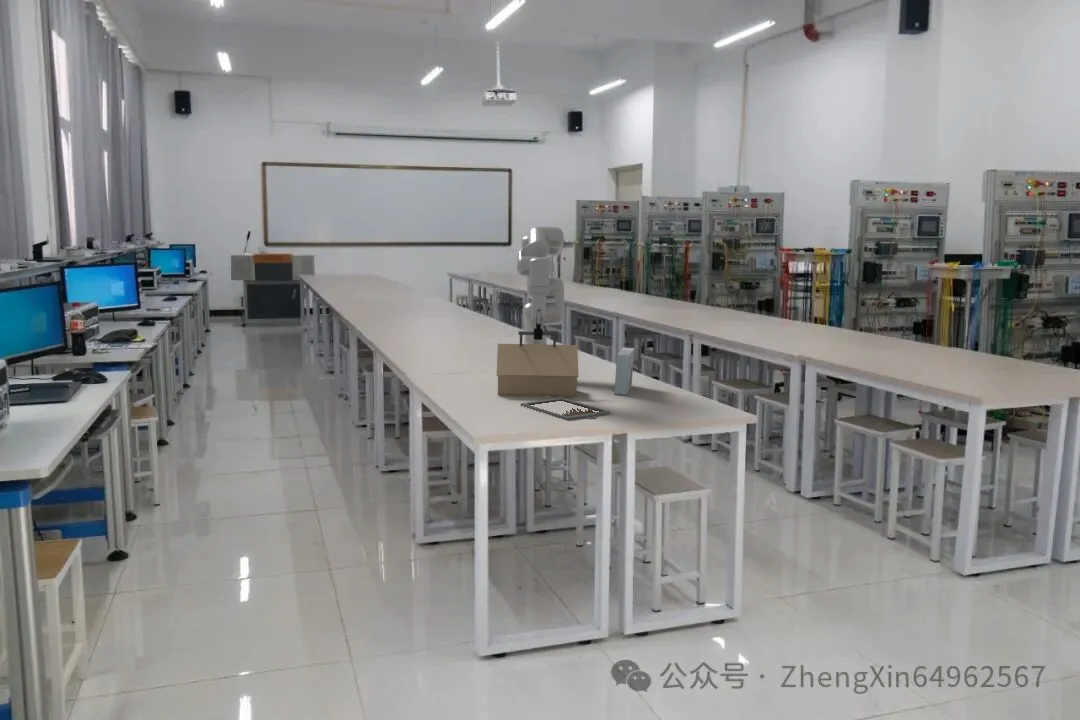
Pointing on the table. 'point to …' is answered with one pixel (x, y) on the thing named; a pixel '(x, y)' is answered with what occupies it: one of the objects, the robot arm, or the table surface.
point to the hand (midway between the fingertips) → (538, 338)
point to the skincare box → (624, 371)
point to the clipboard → (571, 415)
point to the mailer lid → (537, 358)
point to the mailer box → (537, 386)
